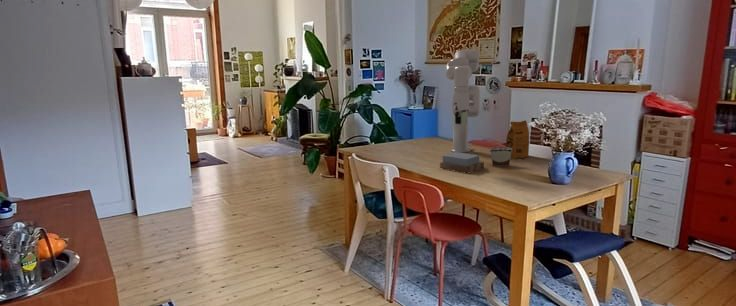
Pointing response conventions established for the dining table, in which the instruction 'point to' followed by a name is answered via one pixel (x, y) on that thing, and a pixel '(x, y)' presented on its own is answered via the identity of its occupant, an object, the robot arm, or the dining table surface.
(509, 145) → the coffee package
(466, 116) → the sage block
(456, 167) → the base block
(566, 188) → the dining table surface
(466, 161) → the top block
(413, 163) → the dining table surface
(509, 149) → the food container
